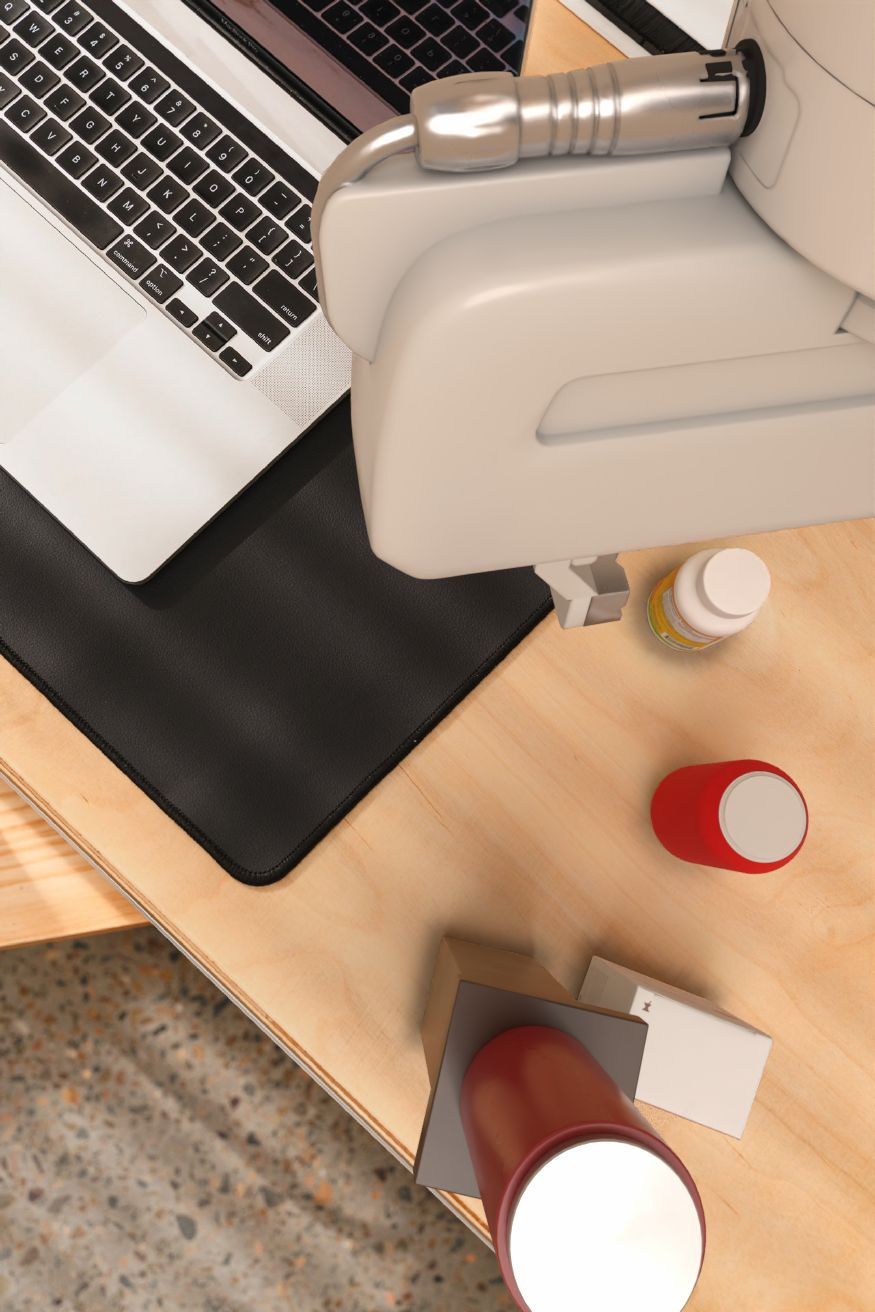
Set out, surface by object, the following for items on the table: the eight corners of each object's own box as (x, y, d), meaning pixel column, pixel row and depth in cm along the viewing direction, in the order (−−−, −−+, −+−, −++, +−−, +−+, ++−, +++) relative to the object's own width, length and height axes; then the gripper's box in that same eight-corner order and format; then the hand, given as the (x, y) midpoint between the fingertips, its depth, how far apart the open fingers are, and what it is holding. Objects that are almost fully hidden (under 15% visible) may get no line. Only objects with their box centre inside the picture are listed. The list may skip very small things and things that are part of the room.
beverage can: (671, 878, 63) (739, 896, 51) (629, 789, 63) (687, 786, 51) (754, 838, 63) (841, 847, 51) (712, 750, 64) (788, 739, 52)
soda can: (621, 1043, 40) (732, 1155, 27) (590, 1198, 39) (691, 1386, 26) (477, 1010, 39) (524, 1106, 27) (444, 1164, 39) (475, 1337, 26)
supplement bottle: (709, 564, 66) (765, 524, 56) (735, 639, 65) (796, 612, 56) (634, 585, 65) (678, 548, 56) (659, 662, 65) (709, 638, 55)
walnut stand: (553, 945, 62) (649, 1024, 40) (526, 1075, 60) (609, 1230, 39) (430, 916, 61) (459, 979, 40) (400, 1046, 60) (413, 1185, 38)
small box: (561, 1038, 61) (599, 1088, 50) (592, 952, 62) (635, 983, 51) (680, 1086, 61) (743, 1145, 50) (709, 999, 62) (777, 1039, 51)
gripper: (322, 273, 11) (378, 749, 23) (1919, 95, 12) (1178, 626, 25) (270, -43, 14) (345, 530, 26) (1573, -152, 15) (1064, 434, 28)
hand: (758, 576), depth 25 cm, fingers open, 8 cm apart
